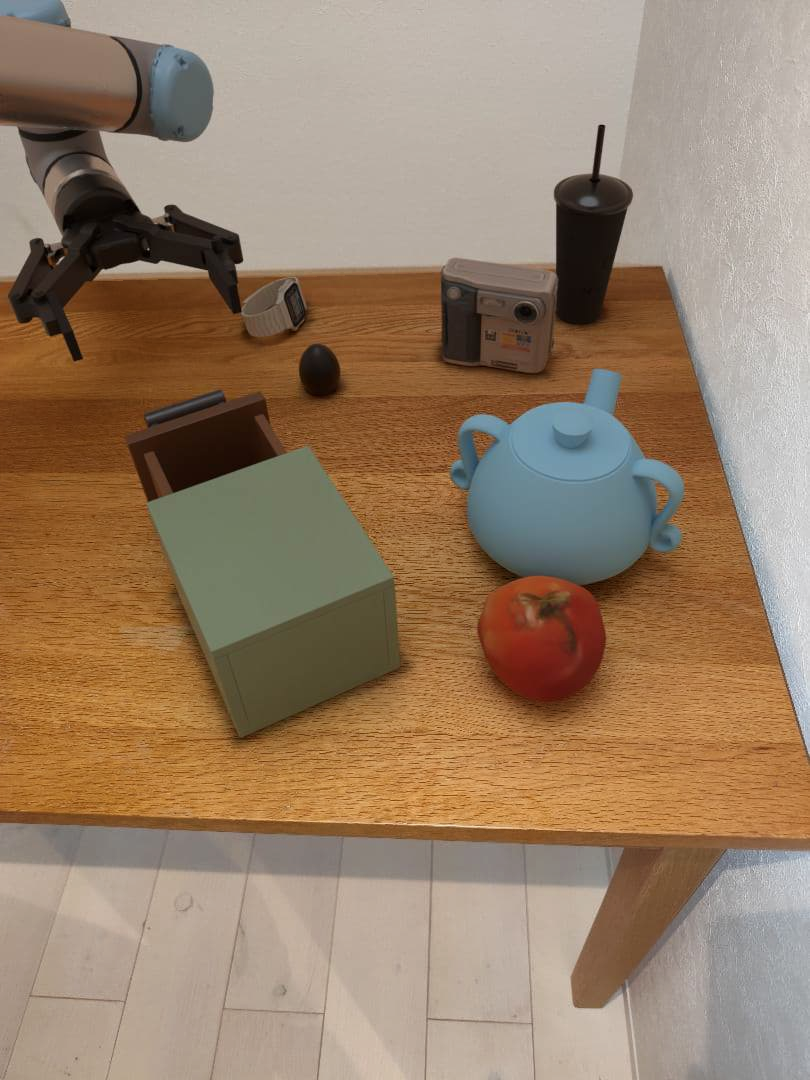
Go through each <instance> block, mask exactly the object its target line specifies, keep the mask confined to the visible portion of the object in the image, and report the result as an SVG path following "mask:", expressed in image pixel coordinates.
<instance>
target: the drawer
mask: <svg viewBox="0 0 810 1080" xmlns="http://www.w3.org/2000/svg"><path fill="white" fill-rule="evenodd" d="M142 416H143V419H144V423H145V425H146V427H147V428H144V429H143V428H142V429H141V430H137V431H135V432H131V433H128V434H125V435H124V440H125V442H126V445H127V448H128V451H129V454H130V456H131V459H132V462H133V465H134V468H135V470H136V473H137V476H138V479H139V482H140V485H141V487H142V490H143V493H144V496H145V499H146V501H147V502H150V501H153V500H156V499H159V498H161V497H164V496H167V495H170V494H173V493H175V492H178V491H181V490H184V489H187V488H190V487H192V486H195V485H198V484H201V483H204V482H206V481H209V480H212V479H215V478H218V477H221V476H223V475H226V474H229V473H232V472H235V471H238V470H240V469H243V468H246V467H249V466H252V465H254V464H257V463H260V462H263V461H266V460H269V459H271V458H274V457H277V456H280V455H283V454H286V453H288V451H287V450H286V448H285V447H284V445H283V444H282V441H281V440H280V439H279V437H278V435H277V434H276V433H275V430H274V429H273V427H272V425H271V420H270V415H269V411H268V406H267V400H266V397H265V395H264V393H262V391H261V390H259V391H256V392H251V393H249V394H246V395H243V396H240V397H237V398H234V399H231V400H228V401H227V399H226V396H225V393H224V391H223V390H222V389H221V388H219V389H216V390H212V391H208V392H206V393H202V394H201V395H200V394H199V395H198V396H193V397H190V398H188V399H185V400H184V399H183V400H181V401H179V402H176V403H172V404H170V405H167V406H163V407H160V408H157V409H155V410H151V411H148V412H144V413H143V415H142ZM147 502H146V503H147Z"/></svg>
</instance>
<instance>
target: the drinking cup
mask: <svg viewBox="0 0 810 1080" xmlns="http://www.w3.org/2000/svg"><path fill="white" fill-rule="evenodd" d="M605 132H606V125H605V124H598V125H597V132H596V139H595V148H594V154H593V162H592V163H593V164H592V172H590V173H582V174H581V173H580V174H576V175H575V174H574V175H571V176H568V177H566V178H564V179H561V180H560V181H558V183H557V184H556V185H555V187H554V188H553V200H554V202H555V274H556V275H557V277H558V287H557V300H556V310H555V314H556V315H557V316H558V318H559V319H561V320H562V321H564V322H565V323H568V324H573V325H586V324H591V323H593V322H595V321H597V320H598V319H599V318H600V316H601V313H602V309H603V305H604V302H605V299H606V294H607V290H608V286H609V283H610V279H611V274H612V270H613V266H614V262H615V258H616V256H617V251H618V246H619V243H620V239H621V235H622V231H623V227H624V224H625V220H626V215H627V212H628V208H629V207H630V205H631V204H632V202H633V199H634V192H633V189H632V188H631V186H630V185H629V184H628V183H627V182H625V181H623V180H621V179H620V178H617V177H614V176H611V175H606V174H603V173H600V171H601V165H602V157H603V156H602V155H603V149H604V141H605V134H606V133H605Z"/></svg>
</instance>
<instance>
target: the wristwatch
mask: <svg viewBox="0 0 810 1080" xmlns="http://www.w3.org/2000/svg"><path fill="white" fill-rule="evenodd" d="M242 305H243V306H241V309H242V312H240V314H241V318H242V320H243V322H244V324H245V327H246V330H247V333H248V334H249V335H250V336H252V337H257V338H263V337H264V338H265V337H270V336H274V335H277V334H279V333H281V332H283V331H285V330H289V329H290V330H291V331H298V329H299V327H300V326H301V324H303V323H304V321H305V318H306V315H307V308H308V305H307V302H306V299H305V296H304V293H303V290H302V287H301V284H300V281H299V278H298V277H296V276H289V277H283V278H280V279H278V280H274V281H272V282H269V283H268V284H266V285H264V286H262V287H261V288H259V289H257V290H256V291H255V292H254V293H252V294H251V295H249V296H247V298H245V299H244V300H243V301H242Z"/></svg>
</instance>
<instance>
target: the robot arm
mask: <svg viewBox="0 0 810 1080" xmlns="http://www.w3.org/2000/svg"><path fill="white" fill-rule="evenodd" d="M214 96H215V89H214V82H213V78H212V75H211V73H210V70H209V68H208V66H207V64H206V63H205V62H204V60H203V59H202V58H201V57H200V56H199V55H197V54H196V53H195V52H193V51H190V50H187V49H183V48H179V47H175V46H174V45H172V44H167V43H162V44H160V43H156V42H155V43H154V42H148V41H143V40H139V39H138V40H137V39H132V38H127V37H121V36H116V35H108V34H106V33H100V32H96V31H90V30H85V29H80V28H75V27H74V28H73V27H72V21H71V18H70V17H69V14H68V12H67V9H66V7H65V5H64V3H63V1H62V0H0V127H15V128H17V131H18V132H17V133H18V135H19V138H20V141H21V143H22V146H23V149H24V158H25V163H26V165H27V168H28V169H29V174H30V177H31V178H32V180H33V182H34V183H35V184H36V185H37V186H38V189H39V190H40V192H41V195H42V196H43V198H44V201H45V203H46V204H47V207H48V209H49V211H50V213H51V215H52V217H53V220H54V221H55V223H56V226H57V228H58V230H59V232H60V234H61V240H60V242H55V243H45V241H44V239H43V238H42V237H35V238H33V239H30V240H29V242H28V244H29V250H30V252H29V254H28V256H27V258H26V260H25V262H24V264H23V265H22V267H21V269H20V270H19V273H18V275H17V277H16V279H15V281H14V283H13V284H12V287H11V288H10V290H9V292H8V294H7V298H8V301H9V305H10V306H11V308H12V311H13V313H14V315H15V318H16V321H17V322H18V323H19V324H23V325H24V324H27V323H30V322H31V321H32V320H33V319H34V318H36V319H39V320H40V321H41V323H42V327H43V329H44V331H45V333H46V335H47V336H49V337H54V336H58V335H62V337H63V340H64V342H65V344H66V347H67V349H68V351H69V353H70V356H71V358H72V361H73V362H77V361H81V360H84V357H83V354H82V352H81V349H80V346H79V344H78V341H77V338H76V335H75V333H74V330H73V328H72V326H71V323H70V321H69V319H68V316H67V314H66V311H65V310H64V308H65V307H66V306H67V304H68V303H69V302H70V301H71V300H72V299H73V298H74V296H75V295H76V294H77V293H78V291H80V289H81V288H82V287H83V286H84V284H85V283H86V282H90V283H91V282H93V281H94V280H95V279H96V278H97V276H98V275H99V274H100V273H101V272H102V271H103V270H105V271H106V270H111V269H114V268H116V267H118V266H121V265H127V264H132V263H136V262H139V261H140V262H143V263H144V262H145V263H149V264H154V265H158V264H159V263H160V262H165V263H170V264H176V265H179V266H184V267H189V268H194V269H199V270H203V271H207V273H208V279H209V280H210V281H211V283H212V284H213V286H214V287H215V289H216V291H217V292H218V293H219V295H220V296H221V298H222V299H223V301H224V302H225V304H226V305H227V307H228V308H229V310H230V311H231V313H232V314H233V315H236V314H241V312H242V304H241V299H240V294H239V293H240V292H239V290H238V289H239V288H238V284H239V277H238V270H237V266H236V265H240V264H243V262H244V254H243V250H242V243H241V237H240V235H239V234H238V233H237V232H234V231H231V230H229V229H227V228H223V227H221V226H219V225H216V224H213V223H211V222H209V221H205V220H203V219H200V218H198V217H195V216H193V215H190V214H188V213H185V212H184V211H183V210H182V209H180V207H178V206H177V205H176V204H173V203H172V204H167V205H165V206H164V207H163V211H164V214H163V215H161V216H157V217H154V218H151V217H150V216H148V215H146V214H144V213H142V212H141V210H140V208H139V206H138V205H137V203H136V201H135V200H134V199H133V196H132V195H131V194H130V192H129V191H128V189H127V187H126V186H125V184H124V183H123V181H122V180H121V178H120V177H119V175H118V173H117V172H116V171H115V169H114V167H113V166H112V164H111V163H110V161H109V159H108V156H107V153H106V149H105V147H104V144H103V139H102V136H101V133H100V132H105V133H109V134H110V133H111V134H124V135H140V136H147V137H152V138H157V139H158V140H159V141H162V142H168V141H174V142H179V143H191V142H193V141H194V140H196V139H198V138H199V137H201V136H202V135H203V133H204V132H205V131H206V130H207V128H208V126H209V124H210V122H211V119H212V116H213V109H214Z"/></svg>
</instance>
